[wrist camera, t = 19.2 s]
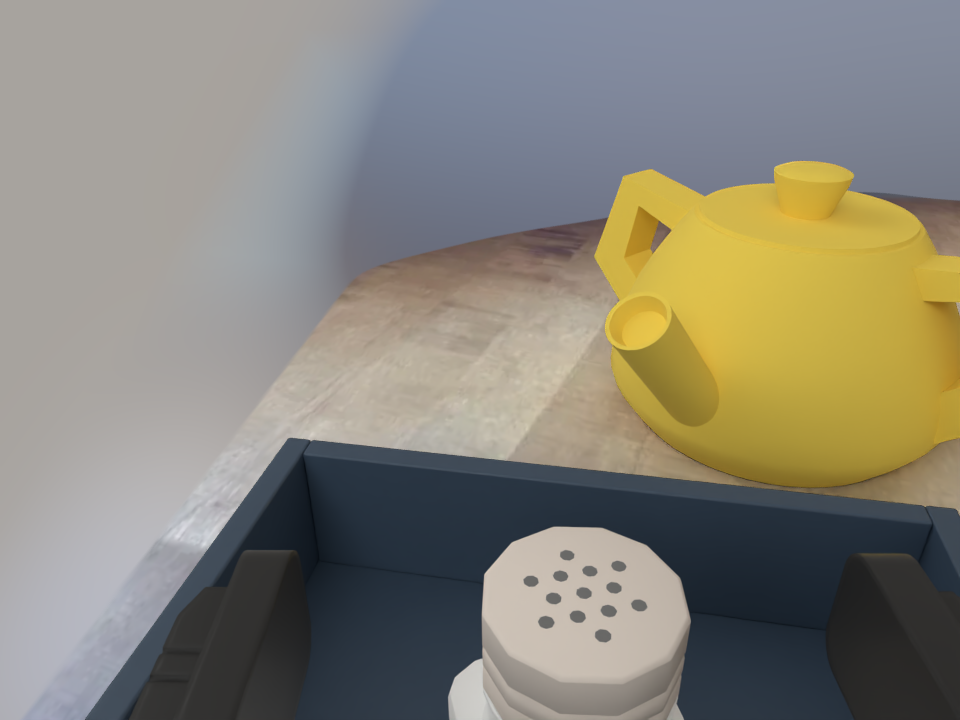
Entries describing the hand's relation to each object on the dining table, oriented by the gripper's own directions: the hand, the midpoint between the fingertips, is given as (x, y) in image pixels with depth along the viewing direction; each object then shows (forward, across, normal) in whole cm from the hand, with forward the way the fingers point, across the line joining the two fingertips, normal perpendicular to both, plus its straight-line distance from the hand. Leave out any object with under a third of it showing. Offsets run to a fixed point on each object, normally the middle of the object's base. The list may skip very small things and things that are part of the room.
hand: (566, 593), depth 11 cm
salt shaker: (0, 0, +10) cm, 10 cm away
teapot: (+20, -10, +11) cm, 25 cm away
